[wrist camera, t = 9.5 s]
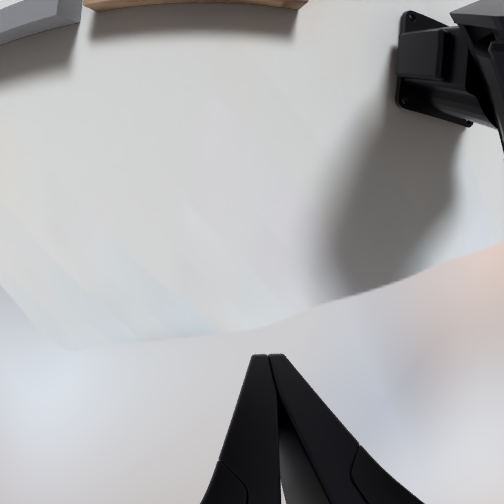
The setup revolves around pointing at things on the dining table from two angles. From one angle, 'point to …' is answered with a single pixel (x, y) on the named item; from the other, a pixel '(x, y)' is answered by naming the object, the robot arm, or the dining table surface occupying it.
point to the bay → (37, 17)
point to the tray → (113, 0)
